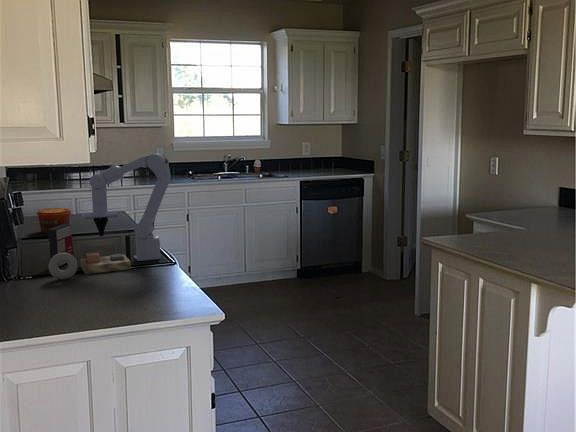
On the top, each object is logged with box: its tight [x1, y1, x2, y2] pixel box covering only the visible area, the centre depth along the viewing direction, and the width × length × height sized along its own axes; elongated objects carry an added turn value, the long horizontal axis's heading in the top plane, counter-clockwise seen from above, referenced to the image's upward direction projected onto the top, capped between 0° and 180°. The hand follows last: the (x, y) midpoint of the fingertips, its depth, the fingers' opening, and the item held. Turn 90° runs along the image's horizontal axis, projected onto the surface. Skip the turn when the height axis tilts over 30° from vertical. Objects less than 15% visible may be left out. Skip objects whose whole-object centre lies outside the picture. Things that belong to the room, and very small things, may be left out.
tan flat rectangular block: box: [79, 254, 132, 275], centre depth 236 cm, size 17×12×3 cm
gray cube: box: [109, 253, 124, 261], centre depth 238 cm, size 4×4×4 cm
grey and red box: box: [47, 224, 74, 268], centre depth 240 cm, size 11×4×15 cm, turn 168°
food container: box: [36, 207, 72, 235], centre depth 301 cm, size 16×16×11 cm
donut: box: [47, 252, 79, 280], centre depth 220 cm, size 10×4×10 cm, turn 112°
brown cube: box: [85, 251, 101, 264], centre depth 234 cm, size 4×4×4 cm
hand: (101, 235), depth 250 cm, fingers closed
